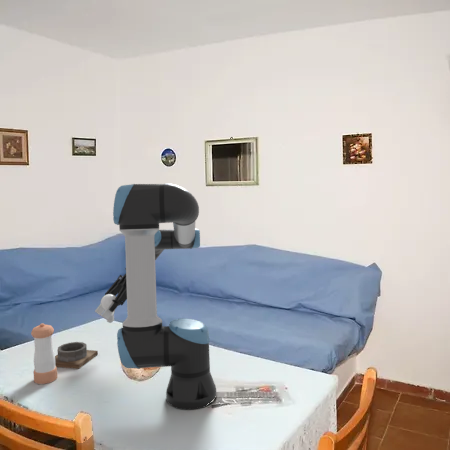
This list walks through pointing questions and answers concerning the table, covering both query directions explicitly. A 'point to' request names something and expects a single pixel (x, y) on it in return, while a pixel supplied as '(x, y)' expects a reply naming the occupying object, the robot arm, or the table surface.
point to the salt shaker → (44, 355)
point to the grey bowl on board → (73, 355)
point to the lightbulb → (106, 302)
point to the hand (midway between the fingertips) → (100, 315)
